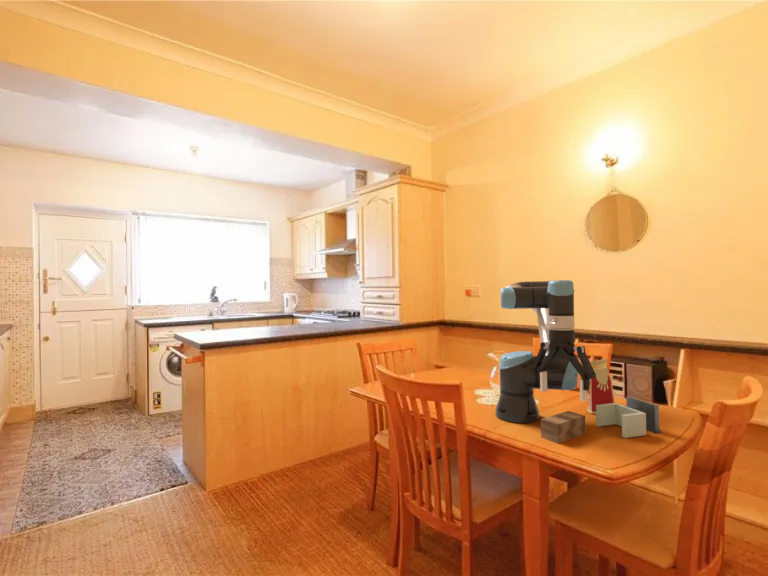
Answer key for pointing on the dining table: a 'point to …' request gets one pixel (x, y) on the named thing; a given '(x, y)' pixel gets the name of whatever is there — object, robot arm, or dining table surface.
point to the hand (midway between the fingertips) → (562, 395)
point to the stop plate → (647, 408)
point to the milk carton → (600, 386)
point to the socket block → (622, 419)
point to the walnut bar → (563, 426)
